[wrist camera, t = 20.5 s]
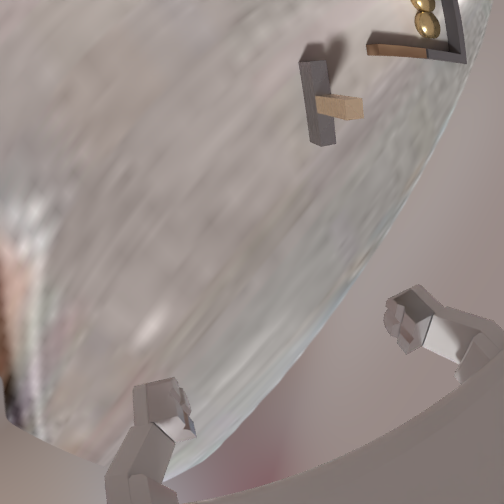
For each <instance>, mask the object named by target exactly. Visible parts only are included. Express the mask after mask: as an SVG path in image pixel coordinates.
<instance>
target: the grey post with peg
mask: <svg viewBox="0 0 504 504" xmlns="http://www.w3.org/2000/svg"><path fill="white" fill-rule="evenodd" d="M299 69H300V75H301V81H302V87H303V94H304V101H305V107H306V115H307V122H308V130H309V137H310V142H312V143H314V144H316V145H319V146H321V147H322V146H327V145H332V144H336V137H335V127H334V117H336V118H340V119H344V120H353V119H361V118H364V114H363V103H362V98H357V97H350V96H343V95H335V94H331V92H330V85H329V78H328V71H327V64H326V60H323V61H309V62H300V63H299Z"/></svg>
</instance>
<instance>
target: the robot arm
mask: <svg viewBox="0 0 504 504" xmlns="http://www.w3.org/2000/svg"><path fill="white" fill-rule="evenodd" d="M386 307H387V308H388V310H387V311H386V312H385V314H384V325H385V328H386V329H387V331H388V333H389V334H390V335H391V336H393V337H396V338H397V344H398V345H399V346H400V347H401V349H402V350H403V351H404V352H405V353H406V354H408V353H410V352H412V351H414V350H416V349H418V348H419V347H421V346H423V347H424V348H426V349H428V350H430V351H432V352H435V353H437V354H439V355H441V356H443V357H445V358H447V359H450V360H452V361H453V362H456V363H458V364H459V366H458V368H457V370H456V371H455V375H454V376H455V377H456V379H457V380H458V381H459V383H460V384H461V385H460V386H458V387H457V388H456V389H454V390H453V391H452V392H450V393H449V394H448V395H446V396H445V397H443V398H442V399H441V400H439V401H438V402H437V403H435V404H433V405H432V406H431V407H429V408H428V409H426V410H424V411H423V412H421V413H420V414H419V415H417V416H415V417H413V418H412V419H410V420H409V421H407V422H405V423H404V424H402V425H400V426H399V427H397V428H395V429H393V430H392V431H390V432H388V433H386V434H385V435H383V436H381V437H379V438H377V439H375V440H374V441H372V442H370V443H368V444H366V445H364V446H362V447H360V448H358V449H356V450H354V451H351V452H349V453H347V454H345V455H343V456H341V457H338V458H336V459H334V460H332V461H329V462H327V463H324V464H322V465H320V466H318V467H315V468H312V469H310V470H307V471H305V472H302V473H299V474H296V475H294V476H291V477H288V478H285V479H282V480H279V481H276V482H273V483H270V484H266V485H263V486H260V487H256V488H253V489H249V490H245V491H242V492H238V493H234V494H230V495H225V496H221V497H216V498H211V499H207V500H202V501H196V502H190V503H184V504H504V331H503V330H502V329H501V327H499V326H498V325H497V324H496V323H495V322H494V321H493V320H490V319H487V318H483V317H480V316H477V315H474V314H470V313H467V312H463V311H460V310H457V309H454V308H451V307H445V308H444V306H443V305H441V304H440V303H439V302H438V301H437V300H436V299H435V298H434V297H433V296H432V295H431V294H430V293H429V292H428V291H427V290H426V289H425V288H424V287H422V286H421V285H419V284H418V285H415V286H413V287H412V288H409V289H407V290H405V291H403V292H401V293H399V294H397V295H395V296H393V297H391V298H388V300H387V301H386ZM133 409H134V424H135V426H133V427H131V428H130V430H129V432H128V433H127V435H126V437H125V439H124V441H123V443H122V445H121V446H120V448H119V450H118V452H117V454H116V456H115V458H114V460H113V461H112V463H111V465H110V467H109V469H108V471H107V473H106V475H105V489H106V499H107V504H179V502H178V498H177V494H176V492H175V491H174V490H172V489H170V488H168V487H166V486H164V485H162V481H163V478H164V475H165V472H166V469H167V467H168V464H169V461H170V458H171V455H172V453H173V450H174V447H175V443H177V442H181V441H185V440H189V439H193V438H196V437H197V436H196V431H195V427H194V422H193V421H192V419H191V418H190V417H189V415H190V413H191V407H190V403H189V400H188V397H187V395H186V393H185V391H184V390H183V388H180V387H179V385H178V381H177V380H176V379H175V377H172V378H168V379H163V380H159V381H155V382H150V383H146V384H141V385H137V386H134V388H133Z"/></svg>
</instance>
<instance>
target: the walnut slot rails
mask: <svg viewBox="0 0 504 504" xmlns="http://www.w3.org/2000/svg"><path fill="white" fill-rule="evenodd" d="M366 47H367V54H368V55H375V56H399V57H413V58H427V54H426V49H425V48H418V47H409V46H399V45H386V44H370V45H366Z"/></svg>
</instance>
